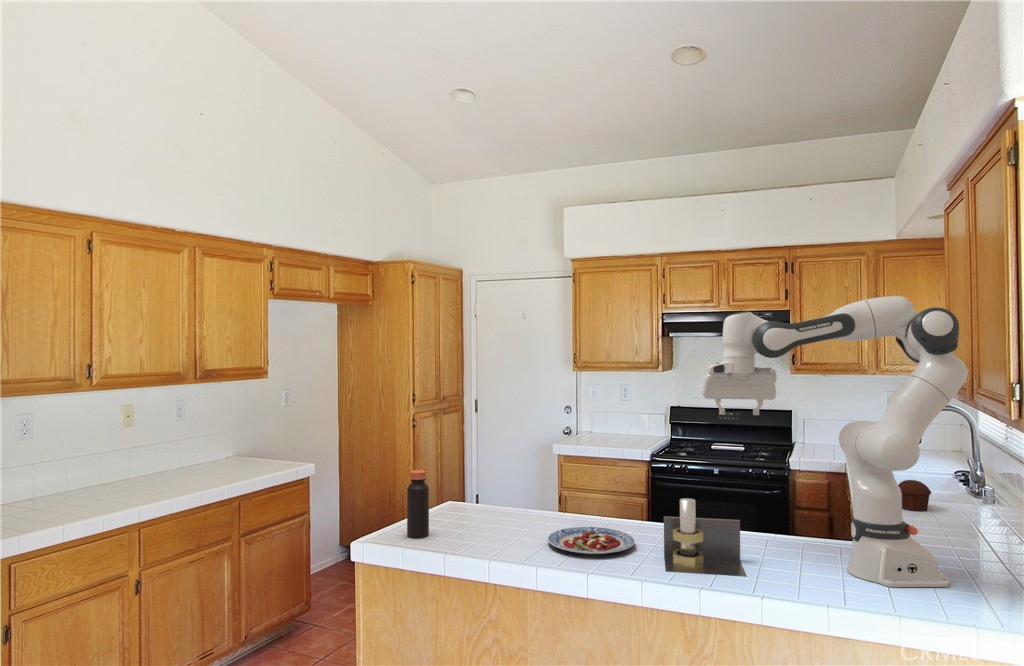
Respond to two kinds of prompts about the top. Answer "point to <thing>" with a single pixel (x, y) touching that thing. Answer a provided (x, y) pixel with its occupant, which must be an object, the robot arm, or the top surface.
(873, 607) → the top surface
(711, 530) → the collar stand
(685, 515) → the grey metal rod
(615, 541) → the ceramic plate
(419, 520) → the bottle
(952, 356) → the robot arm
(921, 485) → the muffin
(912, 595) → the top surface
